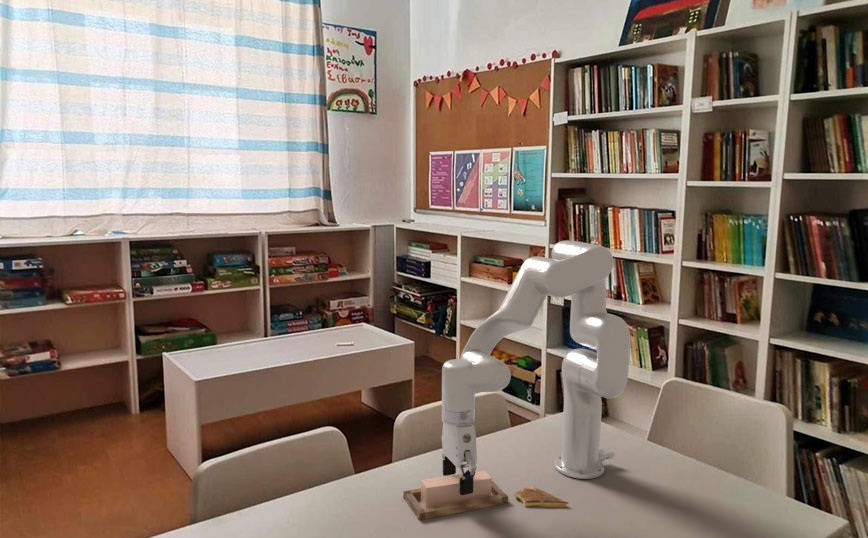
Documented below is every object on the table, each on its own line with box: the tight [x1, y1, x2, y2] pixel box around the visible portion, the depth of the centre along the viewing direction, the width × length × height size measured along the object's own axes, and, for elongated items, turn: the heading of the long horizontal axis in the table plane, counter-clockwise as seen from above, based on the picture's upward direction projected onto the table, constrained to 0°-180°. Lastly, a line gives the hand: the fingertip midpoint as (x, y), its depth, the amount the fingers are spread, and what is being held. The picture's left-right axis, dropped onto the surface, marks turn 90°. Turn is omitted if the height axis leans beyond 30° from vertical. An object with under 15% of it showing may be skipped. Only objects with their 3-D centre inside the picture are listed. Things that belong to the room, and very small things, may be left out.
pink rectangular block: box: [420, 470, 493, 509], centre depth 149 cm, size 16×4×6 cm, turn 109°
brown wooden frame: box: [402, 480, 509, 521], centre depth 149 cm, size 22×10×2 cm, turn 112°
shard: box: [513, 486, 569, 508], centre depth 149 cm, size 11×8×2 cm
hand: (457, 483), depth 149 cm, fingers open, 9 cm apart
